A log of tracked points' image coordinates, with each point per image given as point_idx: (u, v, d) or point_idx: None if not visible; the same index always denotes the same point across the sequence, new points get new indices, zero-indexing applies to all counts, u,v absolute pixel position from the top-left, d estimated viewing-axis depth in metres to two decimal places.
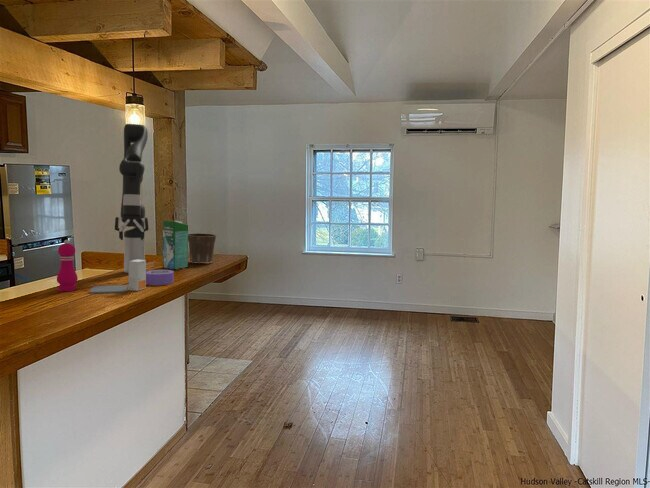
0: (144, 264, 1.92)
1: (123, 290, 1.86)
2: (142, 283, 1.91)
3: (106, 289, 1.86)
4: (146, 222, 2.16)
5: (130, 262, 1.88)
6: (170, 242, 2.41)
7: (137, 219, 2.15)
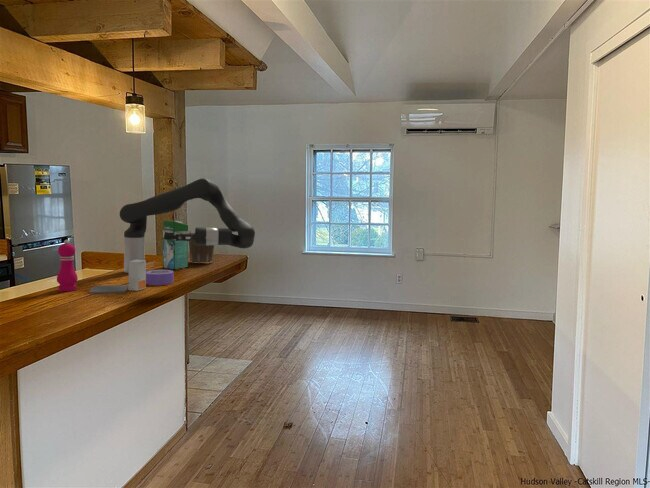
0: (144, 264, 1.92)
1: (123, 290, 1.86)
2: (142, 283, 1.91)
3: (106, 289, 1.86)
4: None
5: (130, 262, 1.88)
6: (170, 242, 2.41)
7: None
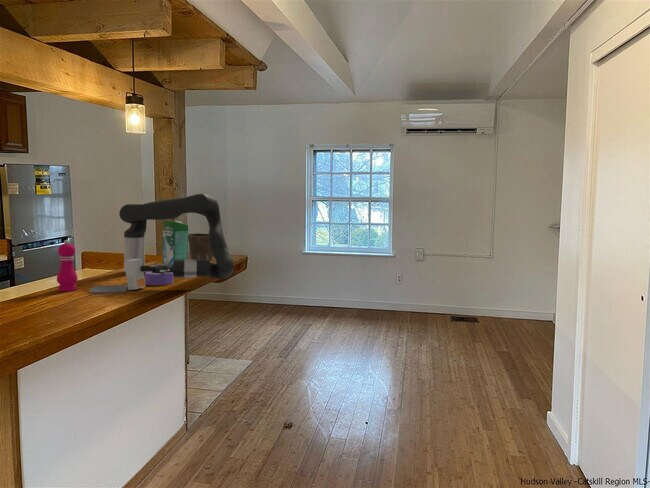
0: (140, 262, 1.92)
1: (123, 290, 1.86)
2: (141, 281, 1.91)
3: (106, 289, 1.86)
4: None
5: (126, 262, 1.88)
6: (170, 242, 2.41)
7: None
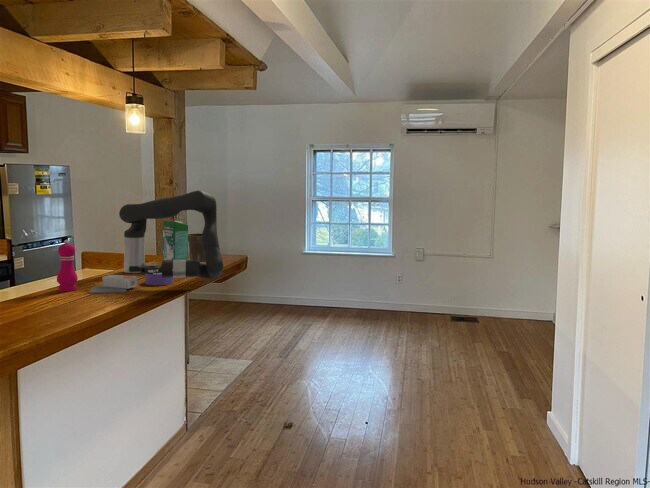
0: (113, 275, 1.95)
1: (123, 290, 1.86)
2: (127, 276, 1.92)
3: (106, 289, 1.86)
4: None
5: (103, 284, 1.91)
6: (170, 242, 2.41)
7: None
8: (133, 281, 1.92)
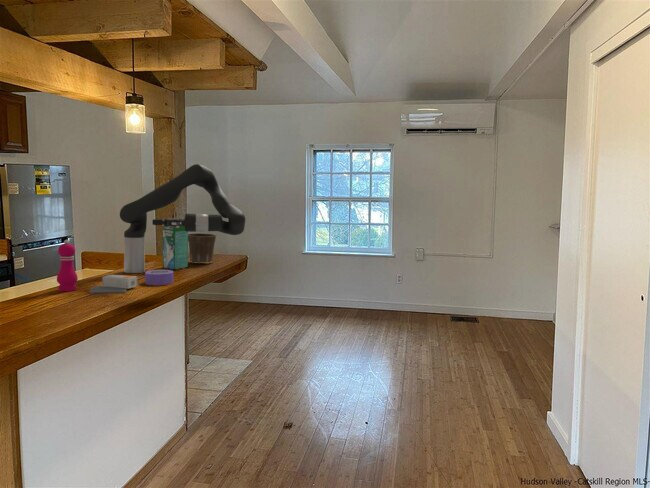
0: (113, 275, 1.95)
1: (123, 290, 1.86)
2: (127, 276, 1.92)
3: (106, 289, 1.86)
4: None
5: (103, 284, 1.91)
6: (170, 242, 2.41)
7: None
8: (133, 281, 1.92)
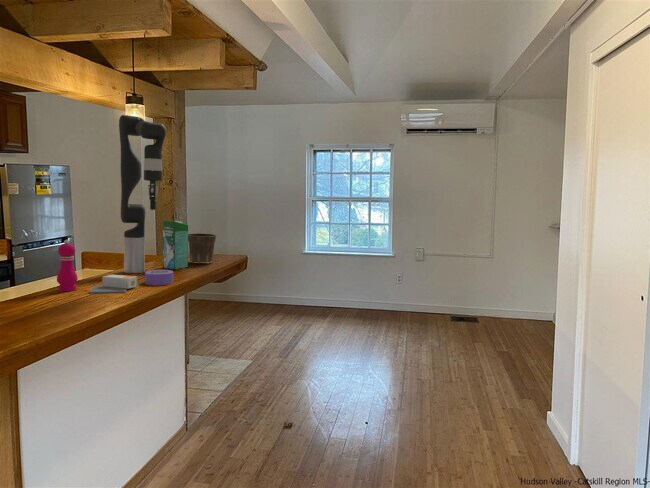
0: (113, 275, 1.95)
1: (123, 290, 1.86)
2: (127, 276, 1.92)
3: (106, 289, 1.86)
4: (156, 192, 2.09)
5: (103, 284, 1.91)
6: (170, 242, 2.41)
7: None
8: (133, 281, 1.92)
